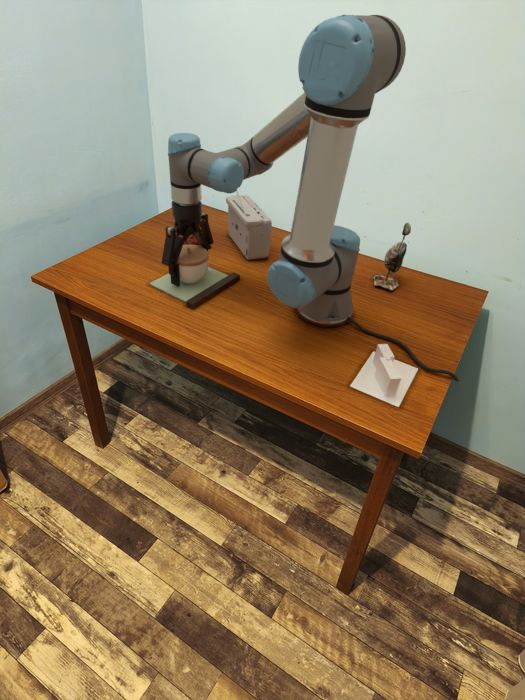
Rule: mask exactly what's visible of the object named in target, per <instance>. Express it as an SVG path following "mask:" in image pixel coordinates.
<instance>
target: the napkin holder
mask: <svg viewBox="0 0 525 700" xmlns="http://www.w3.org/2000/svg"><path fill="white" fill-rule="evenodd" d="M418 371H419V368H418V367H416V366H413V365H410V364H407V363H405V362H402V361H400V360H398V359H395V355H394V352H393V351H392V349H391V348H390V346H389V343H378V344H377V346H376V349H375V351H374V350H373V351H372V352H371V354H370V355H369V357H368V358H367V360H366V361H365V363H364V365H363V366H362V367H361V369H360V370H359V372H358V373H357V375H356V376H355V378H354V379H353V381H352V382H351V384H350V385H349V387H350V388H352V389H355V390H357V391H360V392H362V393H365V394H367V395H369V396H371V397H373V398H376V399H378V400H381V401H383V402H385V403H387V404H389V405H392V406H395V407H397V408H399V407H400V405H401V403H402V402H403V400H404V398H405V396H406V394H407V392H408V390H409V388H410V386H411V384H412V383H413V380H414V379H415V376H416V374H417V373H418Z"/></svg>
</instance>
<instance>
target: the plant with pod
mask: <svg viewBox="0 0 525 700" xmlns="http://www.w3.org/2000/svg"><path fill="white" fill-rule="evenodd" d="M411 226H412V225H411V224H410V223H409V222H405V223H404V225H403V229H402V232H401V234H402V236H403V238H402V240H401V241H399V242H396V243H395V244H394V245H393V246H392V247H390V248H389V249H388V250H387V251H386V253H385V255H384V261H383V262H384V263H383V265H384V267H385V269H387V270H388V271H387V274H386V273H380V274H379V273H377V274H375V275H374V276H373V282H374V283H373V286H375V287H376V286H377V287H382V288H384V289H386V290H388V291H395V290H396V289H397V287H399V286H400V282H399V281H398V279H397V277H393V276H394V275H395V274H396V273H398V271H399V270H400V269H401V267H402V265H403V261H404V258H405V256H406V253H407V248H408V244H409V243H410V242H409V241H407V243H408V244H407V243H406V242H404V240H405V238H406V236H409V235H410V234H411V231H412V227H411Z"/></svg>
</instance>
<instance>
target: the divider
mask: <svg viewBox="0 0 525 700" xmlns="http://www.w3.org/2000/svg"><path fill="white" fill-rule="evenodd" d="M227 275H228V276H226V277H225V278H223V279H221V280H220V281H218V282H216V283H215V284H213V285H212V286H210V287H208V288H207V289H205V290H203V291H202V292H200V293H198V294H197V295H195V296H194V297H192V298H190V299H189V300H187V301H186V303H185V305H186V307H188V308H190V309H192V310H194V309H196V308H197V307H199V306H201V305H202V304H204V303H205V302H207V301H209V300H210V299H212V298H213V297H215V296H216V295H218V294H219V293H221V292H223V291H224V290H225V289H227V288H229V287H230V286H232V285H234V284H236V283H237V282H238V281H240V280H241V275H240V274H239V273H237V272H235V271H233V272H231V273H229V274H227Z"/></svg>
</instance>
